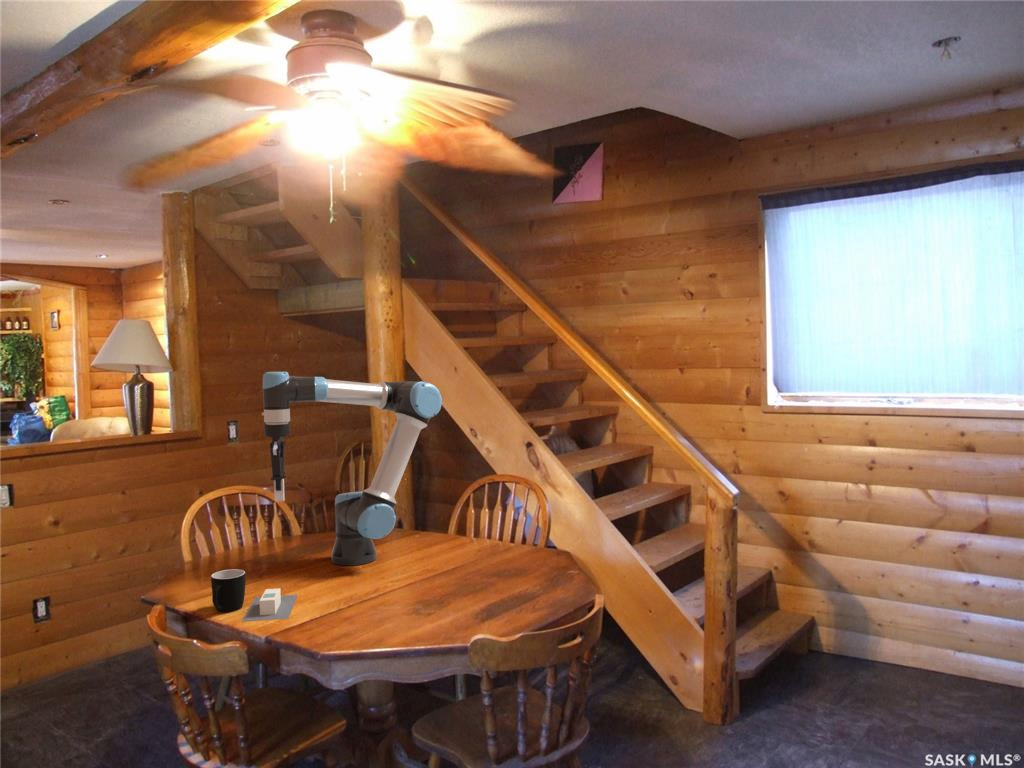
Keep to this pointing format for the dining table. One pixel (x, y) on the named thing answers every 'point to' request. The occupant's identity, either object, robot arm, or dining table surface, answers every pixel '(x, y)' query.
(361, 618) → the dining table surface
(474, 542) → the dining table surface
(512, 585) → the dining table surface
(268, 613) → the pillar
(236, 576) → the mug
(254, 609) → the felt mat
